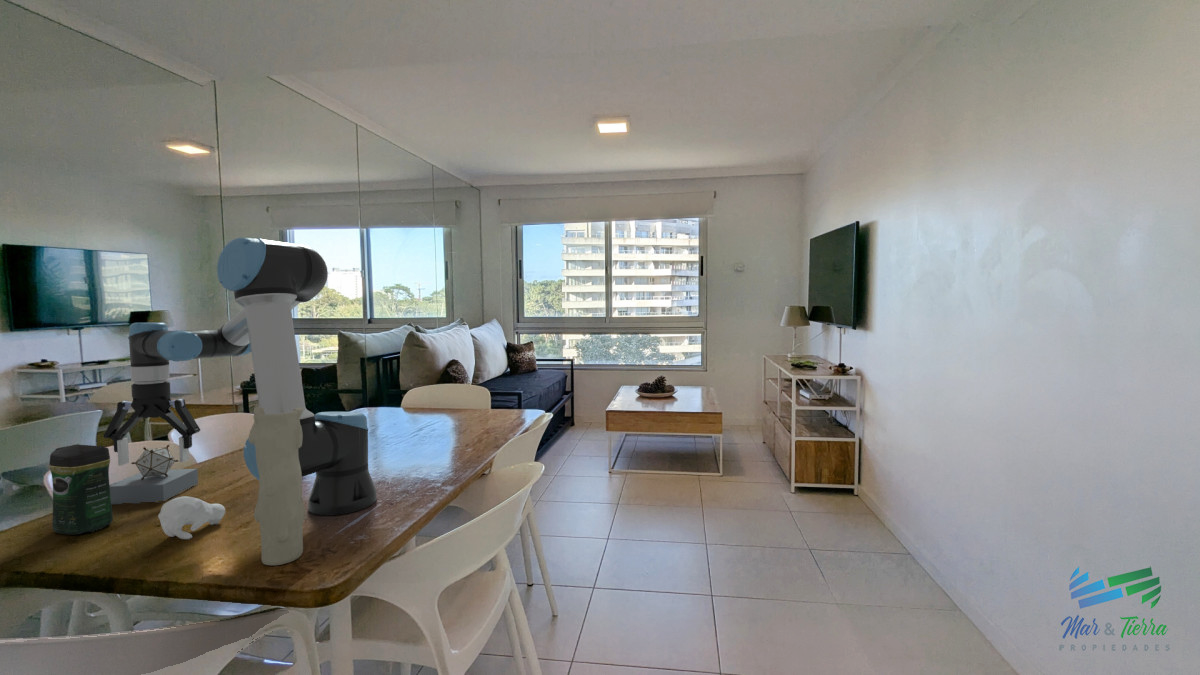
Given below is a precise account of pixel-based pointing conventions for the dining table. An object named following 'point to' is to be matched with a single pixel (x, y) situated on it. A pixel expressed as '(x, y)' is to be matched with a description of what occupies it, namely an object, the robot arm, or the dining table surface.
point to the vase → (279, 484)
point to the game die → (155, 462)
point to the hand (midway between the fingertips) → (154, 462)
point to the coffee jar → (80, 488)
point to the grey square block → (152, 486)
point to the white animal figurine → (188, 515)
